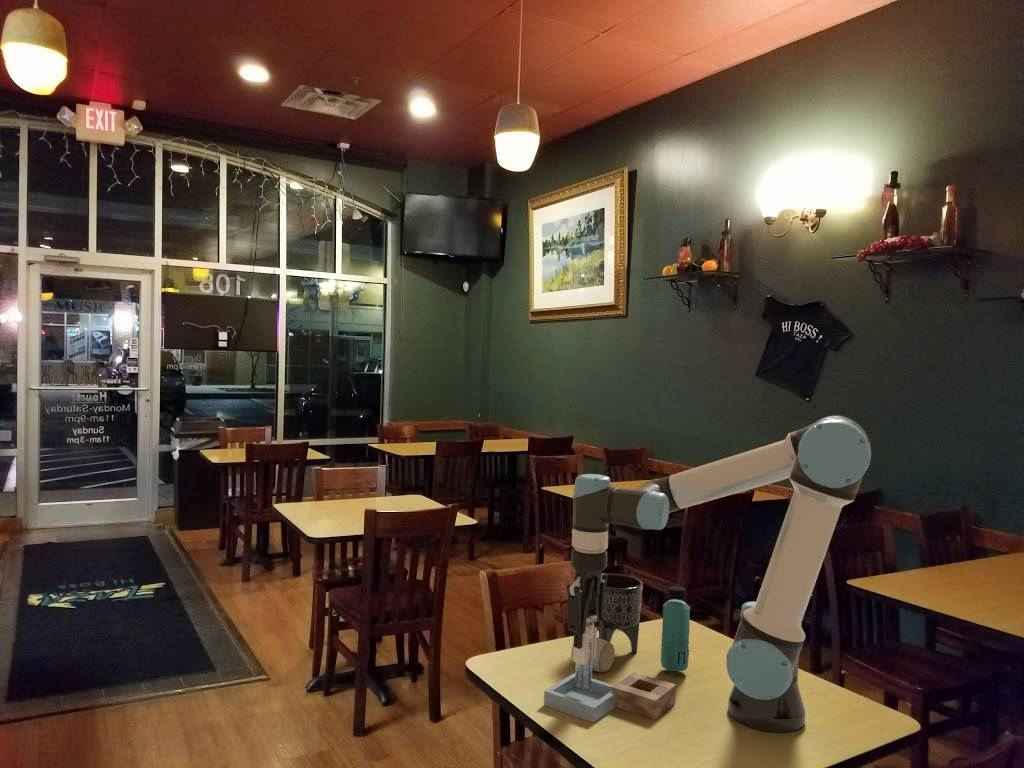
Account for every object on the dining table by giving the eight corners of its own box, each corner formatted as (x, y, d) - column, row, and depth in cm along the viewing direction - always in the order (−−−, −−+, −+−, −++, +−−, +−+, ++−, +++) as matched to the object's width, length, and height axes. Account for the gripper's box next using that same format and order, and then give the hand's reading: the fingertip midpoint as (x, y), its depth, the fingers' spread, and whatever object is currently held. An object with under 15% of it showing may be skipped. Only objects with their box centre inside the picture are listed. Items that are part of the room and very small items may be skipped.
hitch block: (675, 703, 163) (676, 684, 163) (654, 720, 155) (655, 700, 155) (633, 689, 169) (633, 671, 169) (611, 705, 161) (611, 686, 161)
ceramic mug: (600, 678, 174) (602, 645, 174) (569, 668, 179) (571, 636, 179) (622, 664, 183) (623, 633, 183) (592, 656, 188) (593, 625, 188)
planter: (627, 666, 182) (630, 592, 181) (578, 653, 189) (581, 582, 188) (647, 649, 193) (650, 579, 192) (601, 637, 200) (603, 570, 199)
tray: (622, 702, 163) (622, 688, 162) (593, 722, 153) (594, 708, 153) (573, 686, 170) (574, 672, 169) (543, 705, 160) (544, 690, 160)
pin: (598, 684, 162) (601, 614, 161) (586, 691, 158) (590, 620, 157) (579, 678, 164) (582, 609, 164) (568, 685, 161) (571, 615, 160)
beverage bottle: (676, 680, 175) (680, 593, 174) (653, 670, 180) (657, 586, 179) (694, 673, 179) (697, 588, 178) (671, 664, 184) (674, 581, 183)
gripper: (593, 538, 169) (588, 643, 170) (552, 552, 156) (547, 666, 156) (623, 545, 165) (618, 652, 165) (584, 559, 151) (579, 676, 152)
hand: (584, 659), depth 161 cm, fingers closed on pin, 3 cm apart
